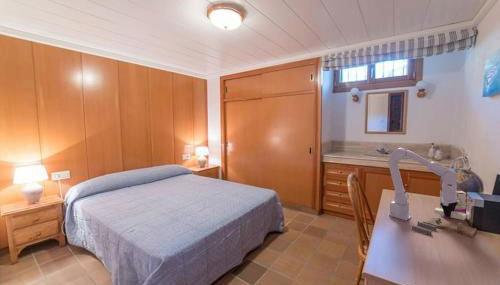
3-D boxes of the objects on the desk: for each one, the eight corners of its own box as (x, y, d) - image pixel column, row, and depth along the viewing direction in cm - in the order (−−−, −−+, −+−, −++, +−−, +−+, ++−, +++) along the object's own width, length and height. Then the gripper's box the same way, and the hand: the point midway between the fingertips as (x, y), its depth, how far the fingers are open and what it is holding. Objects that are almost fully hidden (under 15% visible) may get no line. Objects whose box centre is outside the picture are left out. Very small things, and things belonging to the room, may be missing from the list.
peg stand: (422, 223, 121) (423, 218, 121) (429, 218, 127) (429, 213, 127) (472, 237, 105) (472, 231, 105) (476, 230, 111) (476, 225, 111)
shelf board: (465, 217, 112) (466, 214, 112) (463, 220, 109) (463, 216, 109) (436, 210, 122) (437, 207, 122) (434, 213, 119) (434, 209, 119)
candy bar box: (462, 216, 128) (462, 190, 127) (466, 220, 123) (467, 193, 122) (439, 214, 132) (439, 189, 131) (443, 217, 128) (443, 191, 127)
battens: (412, 229, 115) (412, 226, 115) (418, 224, 120) (418, 221, 120) (430, 235, 108) (430, 231, 108) (436, 229, 114) (436, 226, 113)
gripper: (455, 195, 108) (455, 221, 108) (462, 190, 116) (462, 214, 116) (438, 192, 113) (437, 216, 114) (445, 187, 121) (445, 210, 122)
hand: (448, 215), depth 116 cm, fingers closed on shelf board, 5 cm apart
